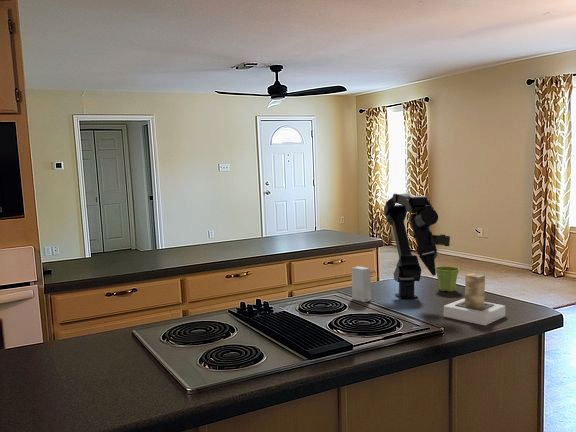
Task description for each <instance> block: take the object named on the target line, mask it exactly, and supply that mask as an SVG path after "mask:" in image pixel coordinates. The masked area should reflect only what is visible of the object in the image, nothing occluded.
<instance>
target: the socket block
mask: <svg viewBox="0 0 576 432" xmlns="http://www.w3.org/2000/svg"><path fill="white" fill-rule="evenodd" d="M443 317H445V318H449V319H454V320H458V321H463V322H467V323H471V324H477V325H481V326H488V325H489V324H492V323H494V322H495V321H498V320H500V319H503V318H505V317H506V305H504V304H497V303H493V302H489V301H488V302H487V301H484V307H481V308H475V307H470V306H465V297H464V298H461V299H458V300H456V301H454V302H451V303H447V304H445V305H443Z"/></svg>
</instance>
